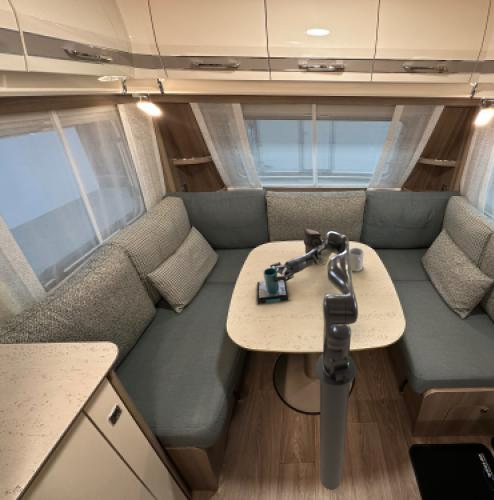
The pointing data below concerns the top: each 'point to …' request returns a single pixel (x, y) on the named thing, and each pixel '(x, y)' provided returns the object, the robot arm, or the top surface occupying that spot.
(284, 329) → the top surface
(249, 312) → the top surface
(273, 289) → the cup
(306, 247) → the owl
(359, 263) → the mug
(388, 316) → the top surface
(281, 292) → the scale
